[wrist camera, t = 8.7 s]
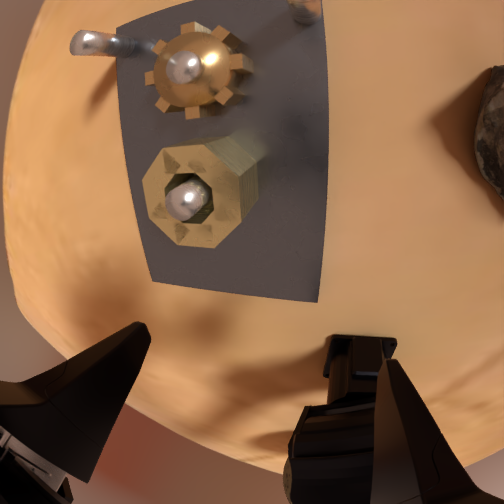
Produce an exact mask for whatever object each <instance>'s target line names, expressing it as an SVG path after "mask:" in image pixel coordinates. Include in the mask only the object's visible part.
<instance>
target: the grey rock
mask: <svg viewBox="0 0 504 504" xmlns="http://www.w3.org/2000/svg"><path fill="white" fill-rule="evenodd" d="M491 73H492V75H491V79H490V81H489V82H488V83H487V85H486V87H485V89H484V93H483V97H482V101H481V105H480V108H479V113H478V120H477V124H476V128H475V131H474V150H475V157H476V160H477V163H478V166H479V169H480V172H481V174H482V176H483V177H484V179H485V180H486V181H487V182H488V183H490V184H491V185H492V186H493V187H494V188H495V189H496V192H497V194H498V195H499V196H500V197H502V199H503V201H504V65H503V66H502V65H501V66H494V67H493V69H492V72H491Z"/></svg>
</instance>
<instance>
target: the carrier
mask: <svg viewBox="0 0 504 504" xmlns="http://www.w3.org/2000/svg"><path fill="white" fill-rule="evenodd" d="M70 53H71V54H72V55H83V56H107V57H116V61H117V84H118V98H119V110H120V120H121V129H122V137H123V145H124V152H125V159H126V165H127V171H128V177H129V183H130V188H131V194H132V199H133V204H134V209H135V213H136V218H137V223H138V227H139V231H140V236H141V240H142V244H143V248H144V252H145V256H146V260H147V263H148V267H149V271H150V274H151V278H152V281H154V282H160V283H166V284H172V285H178V286H185V287H192V288H198V289H205V290H212V291H220V292H227V293H235V294H242V295H250V296H259V297H267V298H276V299H285V300H294V301H304V302H314V303H318V295H319V286H320V277H321V268H322V257H323V246H324V234H325V220H326V205H327V185H328V152H329V103H328V73H327V54H326V40H325V28H324V18H323V9H322V0H193V1H190V2H186V3H182V4H179V5H176V6H172V7H169V8H166V9H163V10H160V11H157V12H154V13H151V14H149V15H146V16H143V17H141V18H138V19H136V20H133V21H131V22H129V23H126V24H124V25H122V26H120V27H117V28H116V34H110V33H104V32H96V31H88V30H80V31H78V32H77V33H76V34H75V35H74V36H73V38H72V40H71V43H70ZM220 136H229V137H231V138H232V139H233V140H234V141H235V142H236V143H237V144H238V145H239V146H240V147H241V148H243V149H244V150H245V151H246V152H247V153H248V154H249V155H250V156H251V157H252V158H253V159H254V160H255V161H256V162H257V175H258V200H257V201H256V203H255V204H254V205H253V207H252V208H251V210H250V211H249V212H248V214H247V215H246V216H245V218H244V219H243V221H242V222H241V223H240V224H239V225H238V226H237V227H236V228H235V229H234V230H233V231H232V232H231V233H229V234H228V235H227V236H226V237H225V238H224V239H223V240H222V241H221V242H220V243H219V244H218V245H217V246H216V247H215V248H205V247H193V246H182V245H177V244H176V243H175V242H174V241H173V240H171V239H170V238H169V237H168V236H167V235H166V234H165V233H164V232H163V231H162V230H161V229H160V228H159V227H158V226H157V225H156V224H155V223H154V222H153V221H152V220H151V219H149V215H148V210H147V205H146V200H145V194H144V189H143V183H142V179H143V177H144V176H145V174H146V173H147V171H148V169H149V168H150V166H151V165H152V163H153V162H154V160H155V159H156V157H157V156H158V154H159V153H160V151H161V150H162V148H164V147H167V146H170V145H174V144H177V143H180V142H183V141H187V140H190V139H194V138H205V137H220ZM209 201H213V194H212V188H211V187H210V186H209V185H208V184H207V183H206V182H205V181H204V180H202V179H201V178H200V177H199V176H198V175H197V174H196V173H194V177H193V178H191V179H189V180H188V181H186V182H184V183H183V184H181V185H179V186H178V187H176V188H175V189H173V190H171V191H170V192H169V193H168V194H167V196H166V199H165V206H166V209H167V211H168V213H169V214H170V215H171V216H172V217H173V218H175V219H177V220H180V221H185V220H188V219H190V218H191V217H192V216H193V215H194V214H196V213H197V212H198V211H199V210H200V209H201V208H202V207H203V206H205V205H206V204H207V203H208V202H209Z"/></svg>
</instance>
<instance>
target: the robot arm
mask: <svg viewBox="0 0 504 504" xmlns="http://www.w3.org/2000/svg"><path fill="white" fill-rule="evenodd" d="M150 343H151V336H150V333H149V331H148V328H147V326H146V324H145V323H142V322H134V323H132V324H130V325H128V326H127V327H125V328H123V329H121V330H120V331H118V332H116V333H114V334H113V335H111V336H109V337H107V338H106V339H104V340H102V341H100V342H98V343H97V344H95V345H93V346H91V347H90V348H88V349H86V350H84V351H83V352H81V353H79V354H77V355H75V356H74V357H72V358H70V359H69V360H66V361H65V362H63V363H61V364H59V365H57V366H56V367H54V368H52V369H50V370H48V371H45V372H44V373H41V374H39V375H37V376H34V377H32V378H30V379H28V380H25V381H23V382H17V383H13V382H5V381H0V504H71V503H72V501H73V496H72V493H71V489H70V485H69V481H68V478H67V477H66V475H67V473H69V474H70V475H72V476H74V477H76V478H77V479H79V480H81V481H83V482H85V483H88V482H89V480H90V478H91V476H92V473H93V471H94V468H95V466H96V464H97V461H98V459H99V457H100V455H101V452H102V450H103V447H104V445H105V443H106V441H107V439H108V437H109V434H110V432H111V430H112V428H113V426H114V424H115V421H116V419H117V417H118V415H119V413H120V411H121V409H122V407H123V405H124V403H125V401H126V398H127V396H128V394H129V392H130V390H131V388H132V386H133V384H134V382H135V380H136V378H137V376H138V374H139V372H140V369H141V367H142V364H143V361H144V359H145V356H146V354H147V351H148V348H149V346H150ZM396 347H397V340H396V339H395V338H379V337H361V336H347V335H334V336H332V338H331V342H330V346H329V351H328V355H327V359H326V363H325V367H324V371H323V376H324V377H325V378H329V386H328V396H327V404H326V405H318V406H305V407H304V409H303V412H302V414H301V416H300V419H299V421H298V423H297V426H296V428H295V430H294V432H293V435H292V437H291V439H290V441H289V444H288V456H289V462H290V466H291V473H292V483H291V493H290V500H291V502H292V504H504V500H503V499H500V498H498V497H495V496H493V495H491V494H488V493H486V492H484V491H482V490H481V489H479V488H478V487H477V486H476V485H475V483H474V482H473V481H472V479H471V478H470V476H469V475H468V473H467V472H466V471H465V469H464V468H463V466H462V465H461V463H460V462H459V461H458V459H457V458H456V456H455V455H454V453H453V452H452V450H451V448H450V446H449V445H448V443H447V441H446V440H445V438H444V436H443V434H442V433H441V431H440V429H439V427H438V425H437V424H436V422H435V420H434V419H433V417H432V415H431V413H430V412H429V410H428V408H427V407H426V405H425V403H424V402H423V400H422V398H421V397H420V395H419V393H418V392H417V390H416V389H415V387H414V385H413V384H412V382H411V381H410V379H409V377H408V376H407V374H406V373H405V371H404V370H403V368H402V366H401V365H400V363H399V362H398V360H396V359H391V357H392V355H393V353H394V351H395V349H396Z"/></svg>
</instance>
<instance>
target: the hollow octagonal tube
mask: <svg viewBox="0 0 504 504" xmlns="http://www.w3.org/2000/svg"><path fill="white" fill-rule="evenodd" d="M194 173H196V174H197V175H198V176H199V177H200V178H201V179H202V180H204V181H205V182H206V183H207V184H208V185H209V186H210V187H211V188H212V194H213V201H209V202H208V203H207V204H206V205H205V206H203V207H202V208H201V209H200V210H199V211H198V212H197V213H196V214H194V215H193V216H192V217H191V218H190V219H188V220H185V221H180V220H177V219H175V218H173V217H172V216H171V215H170V214H169V213H168V211H167V209H166V206H165V199H166V196H167V194H168V193H169V192H170V191H171V190H173V189H175V188H176V187H178V186H179V185H181V184H183V183H184V182H186V181H188V180H189V179H191V178H193V177H194ZM142 183H143V189H144V194H145V200H146V205H147V210H148V215H149V219H151V220H152V221H153V222H154V223H155V224H156V225H157V226H158V227H159V228H160V229H161V230H162V231H163V232H164V233H165V234H166V235H167V236H168V237H169V238H170V239H171V240H173V241H174V242H175V243H176V244H177V245H182V246H193V247H205V248H215V247H216V246H217V245H218V244H219V243H220V242H221V241H222V240H223V239H224V238H225V237H226V236H227V235H228V234H229V233H231V232H232V231H233V230H234V229H235V228H236V227H237V226H238V225H239V224H240V223H241V222H242V221H243V219H244V218H245V216H246V215H247V214H248V212H249V211H250V210H251V208H252V207H253V205H254V204H255V203H256V201H257V200H258V175H257V162H256V161H255V160H254V159H253V158H252V157H251V156H250V155H249V154H248V153H247V152H246V151H245V150H244V149H243V148H241V147H240V146H239V145H238V144H237V143H236V142H235V141H234V140H233V139H232V138H231V137H229V136H220V137H205V138H194V139H190V140H187V141H183V142H180V143H177V144H174V145H170V146H167V147H164V148H162V150H161V151H160V153H159V154H158V156H157V157H156V159H155V160H154V162H153V163H152V165H151V166H150V168H149V169H148V171H147V173H146V174H145V176H144V177H143V179H142Z"/></svg>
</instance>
